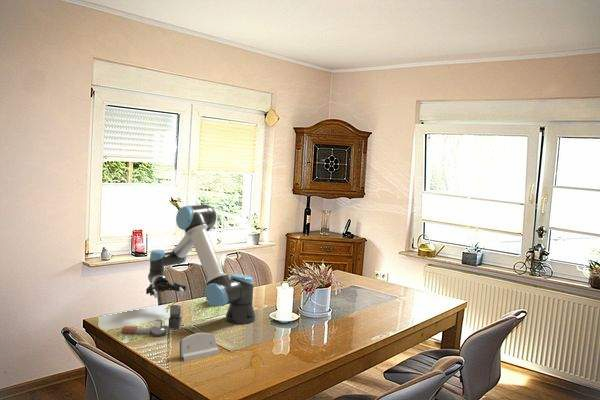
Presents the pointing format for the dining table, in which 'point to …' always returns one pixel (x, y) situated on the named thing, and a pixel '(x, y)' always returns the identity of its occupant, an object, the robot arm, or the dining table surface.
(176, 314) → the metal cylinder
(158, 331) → the ratchet
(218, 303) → the robot arm
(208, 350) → the hinge
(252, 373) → the dining table surface
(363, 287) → the dining table surface
